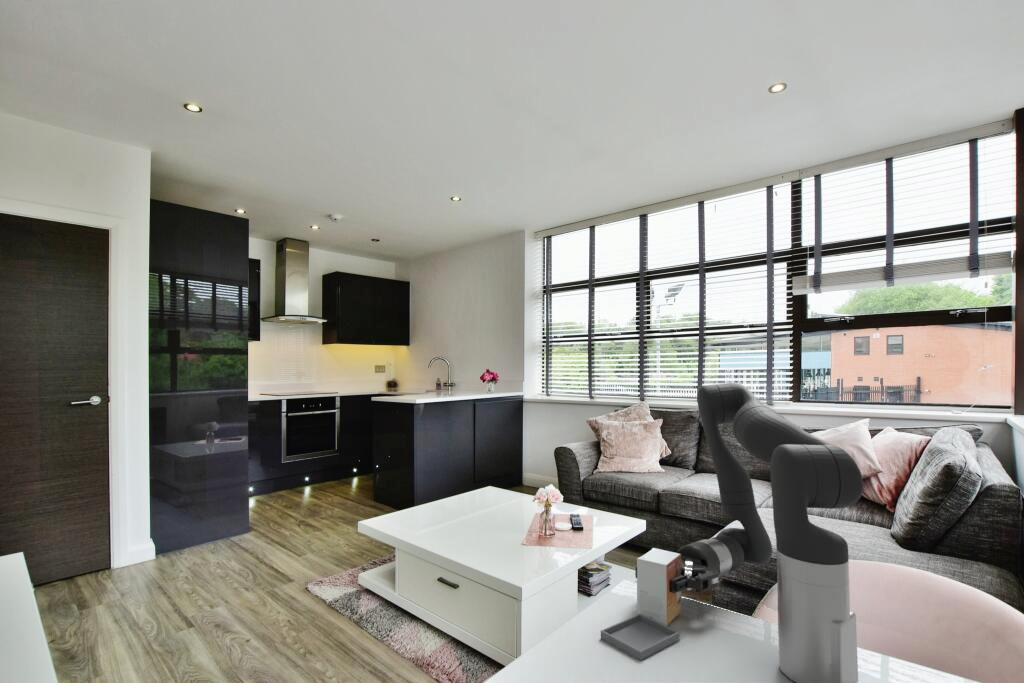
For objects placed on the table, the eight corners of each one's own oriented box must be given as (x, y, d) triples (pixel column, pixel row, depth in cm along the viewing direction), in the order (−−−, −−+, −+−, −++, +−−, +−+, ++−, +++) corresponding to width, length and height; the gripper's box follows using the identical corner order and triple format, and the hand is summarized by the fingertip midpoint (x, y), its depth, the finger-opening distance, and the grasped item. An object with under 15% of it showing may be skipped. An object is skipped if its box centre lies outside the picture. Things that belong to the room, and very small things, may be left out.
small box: (666, 628, 86) (666, 565, 87) (636, 618, 90) (636, 558, 91) (682, 611, 93) (681, 553, 94) (653, 603, 96) (653, 546, 97)
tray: (679, 640, 83) (679, 632, 83) (640, 660, 76) (640, 652, 76) (639, 620, 89) (639, 613, 89) (600, 638, 83) (600, 630, 83)
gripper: (673, 533, 107) (622, 547, 97) (738, 551, 96) (688, 571, 85) (673, 569, 106) (622, 588, 96) (739, 592, 95) (689, 616, 85)
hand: (653, 580), depth 91 cm, fingers closed on small box, 7 cm apart
